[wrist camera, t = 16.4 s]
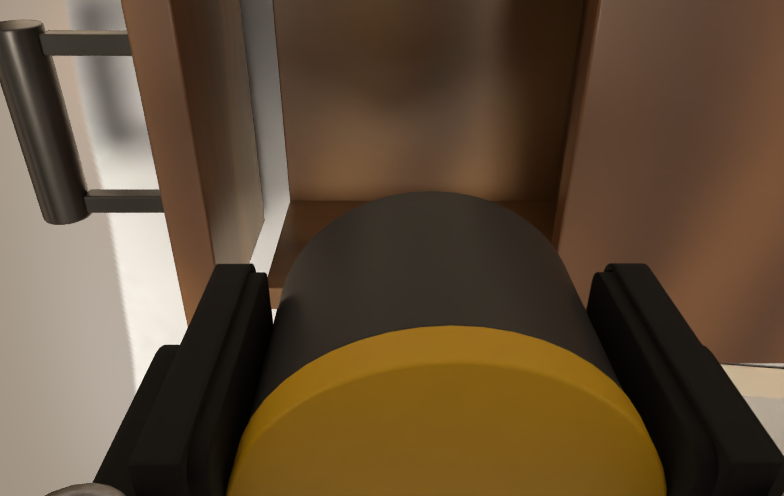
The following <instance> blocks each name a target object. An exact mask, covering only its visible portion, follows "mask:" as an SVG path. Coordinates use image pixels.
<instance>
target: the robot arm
mask: <svg viewBox="0 0 784 496" xmlns="http://www.w3.org/2000/svg"><path fill="white" fill-rule="evenodd" d="M586 312H587V314H588V316H589V318H590V321H591V323H592V325H593V327H594V329H595V331H596V333H597V336H598V338H599V340H600V342H601V344H602V346H603V348H604V350H605V353H606V355H607V357H608V359H609V361H610V363H611V365H612V368H613V370H614V372H615V374H616V376H617V378H618V380H619V383H620V385H621V387H622V389H623V391H624V393H625V394H626V395H627V396H628V398H629V399H630V401H631V402H632V404H633V405H634V407H635V409H636V410H637V412H638V413H639V415H640V417H641V419H642V421H643V423H644V425H645V427H646V429H647V432H648V434H649V436H650V438H651V440H652V442H653V444H654V446H655V448H656V451H657V453H658V456H659V458H660V461H661V463H662V466H663V468H664V474H665V480H666V486H667V496H784V455H783V454H782V452H781V451H780V450H779V448H778V447H777V445H776V444H775V442H774V441H773V439H772V438H771V437H770V435H769V434H768V432H767V431H766V429H765V428H764V427H763V425H762V424H761V422H760V421H759V419H758V418H757V416H756V415H755V414H754V412H753V411H752V409H751V408H750V406H749V405H748V403H747V402H746V401H745V399H744V398H743V396H742V395H741V393H740V392H739V390H738V389H737V388H736V386H735V385H734V383H733V382H732V380H731V379H730V378H729V376H728V375H727V373H726V372H725V370H724V369H723V367H722V366H721V365H720V363H719V362H718V360H717V359H716V357H715V356H714V354H713V353H712V352H711V351H710V350H709V349H708V348H707V347H706V346H704V345H702V344H701V342H700V341H699V339H698V338H697V336H696V335H695V333H694V332H693V330H692V329H691V328H690V326H689V325H688V323H687V322H686V320H685V319H684V317H683V316H682V314H681V313H680V311H679V310H678V309H677V307H676V306H675V304H674V303H673V301H672V300H671V298H670V297H669V295H668V294H667V292H666V291H665V290H664V288H663V287H662V285H661V284H660V282H659V281H658V279H657V278H656V276H655V275H654V273H653V272H652V271H651V269H650V268H649V266H648V265H647V264H644V263H609V264H608V265H607V266H606V267H605V269H604V272H596V273H595V274H594V276H593V279H592V283H591V288H590V293H589V298H588V303H587V308H586ZM272 328H273V319H272V310H271V302H270V293H269V284H268V277H267V274H266V273H256V270H255V267H254V265H253V264H217V265H216V266H215V268H214V270H213V272H212V275H211V277H210V279H209V281H208V284H207V286H206V288H205V290H204V293H203V295H202V297H201V299H200V302H199V304H198V306H197V308H196V310H195V313H194V315H193V317H192V319H191V322H190V324H189V326H188V328H187V331H186V333H185V335H184V337H183V340H182V342H181V344H180V345H163V346H162V347H160V348H159V350H158V351H157V353H156V354H155V356H154V358H153V360H152V362H151V364H150V366H149V368H148V370H147V372H146V374H145V376H144V378H143V380H142V383H141V385H140V387H139V389H138V391H137V393H136V395H135V397H134V399H133V401H132V403H131V405H130V407H129V409H128V412H127V413H126V415H125V417H124V419H123V421H122V423H121V425H120V428H119V430H118V432H117V434H116V436H115V438H114V440H113V442H112V444H111V446H110V448H109V450H108V452H107V454H106V456H105V458H104V460H103V462H102V465H101V467H100V469H99V471H98V473H97V475H96V477H95V479H94V481H93V483H87V484H78V485H71V486H69V487H65V488H62V489H60V490H56V491H53V492H51V493H49V494H47V495H45V496H226V490H227V486H228V482H229V478H230V475H231V471H232V467H233V463H234V459H235V456H236V452H237V449H238V446H239V443H240V439H241V436H242V434H243V432H244V430H245V428H246V426H247V425H248V422H249V418H250V414H251V410H252V406H253V402H254V398H255V395H256V391H257V387H258V383H259V379H260V375H261V371H262V367H263V363H264V359H265V355H266V351H267V347H268V344H269V340H270V336H271V332H272Z"/></svg>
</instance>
